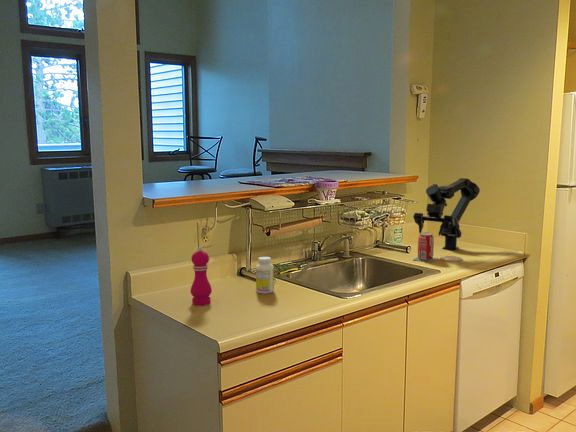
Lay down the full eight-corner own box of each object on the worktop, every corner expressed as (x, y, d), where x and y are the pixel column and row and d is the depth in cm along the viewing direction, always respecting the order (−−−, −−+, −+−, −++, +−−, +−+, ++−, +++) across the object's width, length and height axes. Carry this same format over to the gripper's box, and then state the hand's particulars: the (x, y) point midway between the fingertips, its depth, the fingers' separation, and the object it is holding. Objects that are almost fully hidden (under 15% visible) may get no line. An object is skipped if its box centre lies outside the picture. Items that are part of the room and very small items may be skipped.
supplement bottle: (265, 287, 209) (265, 255, 207) (277, 291, 204) (277, 257, 202) (252, 291, 204) (252, 257, 202) (264, 295, 200) (264, 261, 198)
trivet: (443, 255, 261) (443, 255, 261) (465, 258, 256) (465, 257, 256) (437, 260, 253) (437, 259, 253) (459, 262, 247) (459, 261, 247)
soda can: (431, 257, 257) (432, 232, 255) (434, 261, 250) (435, 235, 248) (416, 257, 257) (417, 232, 255) (418, 260, 250) (419, 234, 249)
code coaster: (419, 256, 260) (419, 256, 260) (437, 258, 255) (437, 258, 255) (412, 260, 252) (412, 259, 252) (431, 262, 247) (431, 262, 247)
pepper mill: (193, 299, 195) (191, 244, 191) (213, 299, 194) (212, 244, 191) (189, 306, 187) (187, 249, 184) (210, 306, 187) (208, 249, 184)
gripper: (415, 196, 263) (406, 221, 255) (454, 198, 253) (446, 225, 245) (420, 210, 270) (411, 235, 263) (458, 213, 261) (450, 240, 253)
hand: (429, 234), depth 256 cm, fingers open, 9 cm apart
